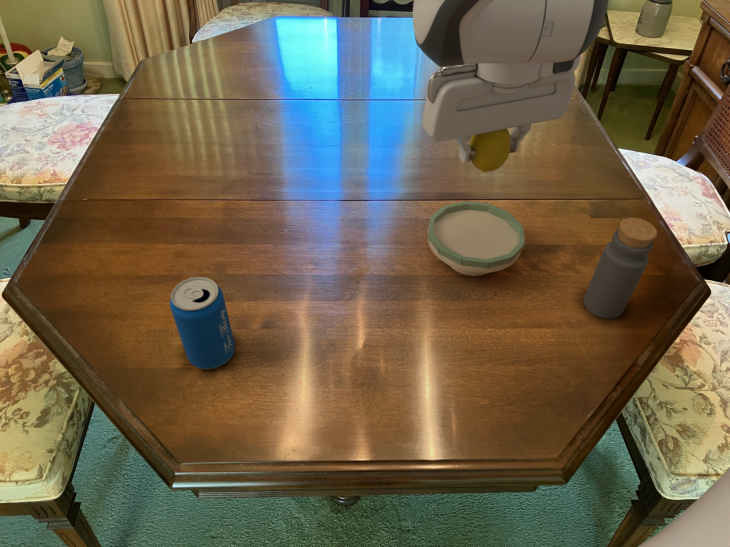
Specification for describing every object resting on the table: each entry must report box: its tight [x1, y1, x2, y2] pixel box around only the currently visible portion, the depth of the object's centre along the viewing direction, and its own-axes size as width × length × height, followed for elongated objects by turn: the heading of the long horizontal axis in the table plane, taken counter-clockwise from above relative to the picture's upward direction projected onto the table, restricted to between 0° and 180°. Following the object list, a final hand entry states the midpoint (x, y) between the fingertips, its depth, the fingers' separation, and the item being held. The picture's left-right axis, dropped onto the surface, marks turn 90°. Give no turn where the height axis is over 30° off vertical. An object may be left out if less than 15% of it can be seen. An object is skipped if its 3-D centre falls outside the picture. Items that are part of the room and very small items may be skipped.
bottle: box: [583, 217, 658, 320], centre depth 78 cm, size 6×6×15 cm
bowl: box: [426, 200, 526, 277], centre depth 88 cm, size 15×15×6 cm
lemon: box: [468, 128, 511, 174], centre depth 75 cm, size 6×6×8 cm
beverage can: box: [169, 276, 236, 370], centre depth 72 cm, size 6×6×12 cm
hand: (488, 155), depth 76 cm, fingers closed on lemon, 5 cm apart
